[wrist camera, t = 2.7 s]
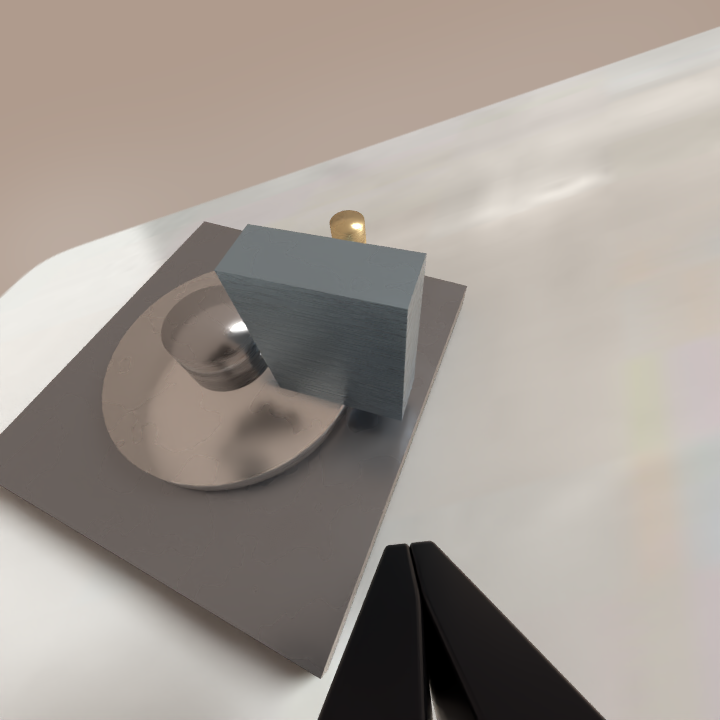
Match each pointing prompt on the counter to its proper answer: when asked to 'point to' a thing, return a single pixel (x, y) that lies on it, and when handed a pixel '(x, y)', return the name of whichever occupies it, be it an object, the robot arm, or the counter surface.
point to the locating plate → (233, 506)
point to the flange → (264, 357)
